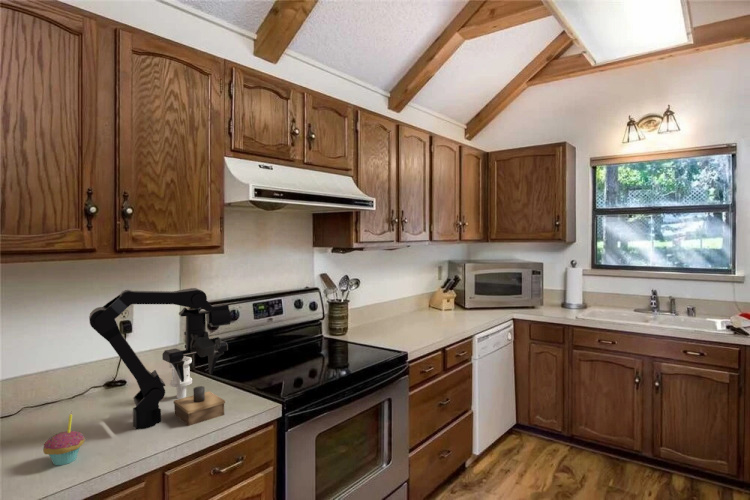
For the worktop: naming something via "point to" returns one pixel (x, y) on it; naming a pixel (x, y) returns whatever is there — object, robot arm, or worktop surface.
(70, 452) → the cupcake
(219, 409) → the box
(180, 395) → the white tall flanged cylinder
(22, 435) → the worktop surface
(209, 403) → the lid
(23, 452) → the worktop surface
